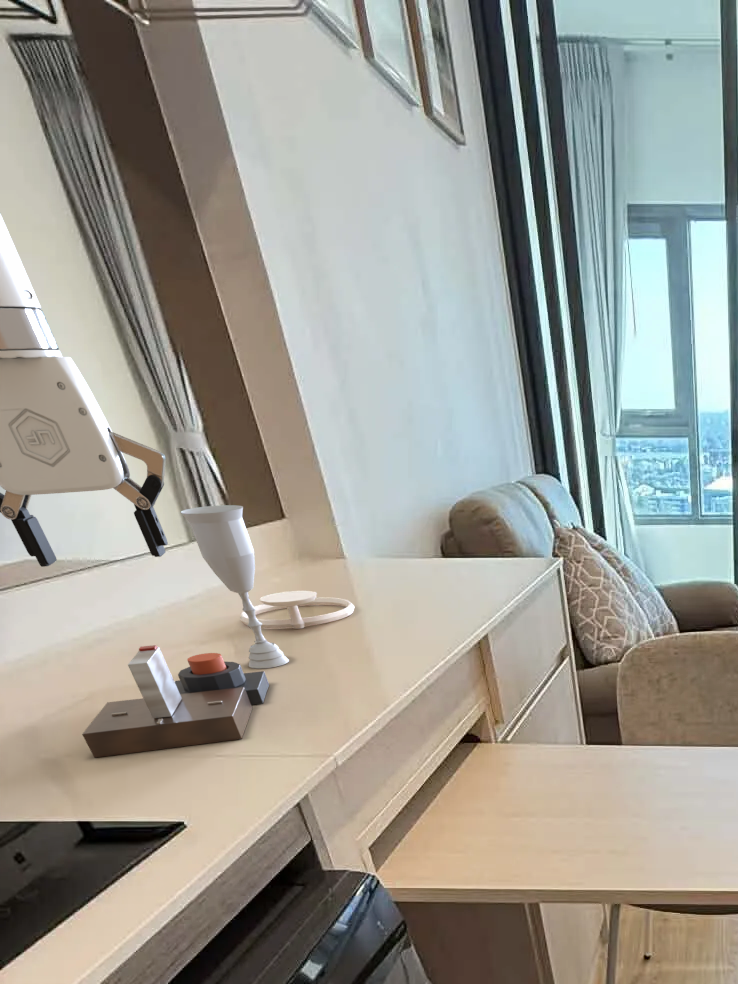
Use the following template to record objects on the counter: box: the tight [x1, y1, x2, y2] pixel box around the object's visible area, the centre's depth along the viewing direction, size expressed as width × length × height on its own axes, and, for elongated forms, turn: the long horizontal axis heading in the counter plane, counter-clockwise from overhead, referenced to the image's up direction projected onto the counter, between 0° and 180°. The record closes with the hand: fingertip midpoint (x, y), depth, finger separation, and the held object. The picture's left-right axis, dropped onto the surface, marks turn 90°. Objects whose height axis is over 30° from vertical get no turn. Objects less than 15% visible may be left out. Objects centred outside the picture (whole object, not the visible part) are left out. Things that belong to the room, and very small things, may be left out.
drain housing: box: [174, 661, 270, 706], centre depth 101 cm, size 10×8×4 cm
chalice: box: [180, 504, 290, 669], centre depth 109 cm, size 7×7×18 cm
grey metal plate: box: [127, 644, 182, 718], centre depth 90 cm, size 6×2×6 cm, turn 20°
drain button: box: [186, 652, 227, 675], centre depth 100 cm, size 4×4×2 cm
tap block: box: [81, 687, 253, 758], centre depth 93 cm, size 14×11×3 cm
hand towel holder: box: [239, 590, 355, 630], centre depth 133 cm, size 17×4×21 cm
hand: (105, 559), depth 84 cm, fingers open, 9 cm apart
